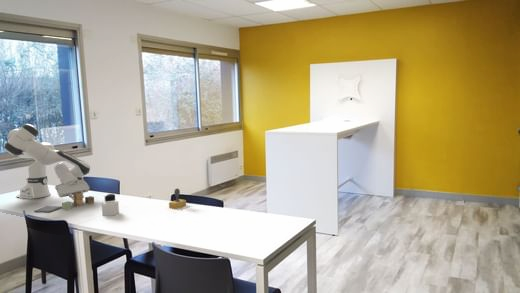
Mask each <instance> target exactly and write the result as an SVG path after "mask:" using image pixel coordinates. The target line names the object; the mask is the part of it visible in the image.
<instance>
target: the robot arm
mask: <svg viewBox="0 0 520 293" xmlns="http://www.w3.org/2000/svg"><path fill="white" fill-rule="evenodd" d="M38 135H39V130H38V129H37V127H36V126H34V125H32V124H29V123H25V124H23V125H22V126H21V127H20V128H14V129H11V130H10V131H9V132H8V135H7V138H8V140H7V141H6V142H5V144H4V146H3V148H4V149H5V151H6V153H8V154H10V155H11V156H17V157H18V158H23V159H33V160H34V162H33V163H32V164H31V163H30V165H29V166H28V168H27V169H28V170H27V171H28V178H26V183H25V184H24V185H23V186H21V188H20V189H19V190H20V191H19V194H18V195H16V198H17V197H19V198H20V199H29V200H33V199H37V198H44V197H48V196H49V197H50V196H51V192H50V189H49V183H48V175H47V166H50V165H53V164H55V163H57V164H56V165H54V171H55V172H54V173H55V174H56V176H57V178H58V179H59V181H60V184H56V185H55V186H54V189H55V190H56V193H57V195H58V197H59V198H65V197H68V198H69V199H72V201H74V200H76V198H75V197H74V196H73V194H75V193H82V196H83V199H85V197H84V196H85V195H84V193H88V192H90V191H89V190H90V185H89V184H88V183H87V182H86V180H84V178H83V177H85V176H87V175H88V174H89V173H90V171H91V166H90V164H88V163H87V162H86V161H84V160H81V159H79V158H77V157H75V156H73V155H71V154H69V153H67V152H66V151H63V150H61V149H58V150H56V149H55V148H56V147H55V146H54V144H52V143H50V142H40V141H38V140H36V139H35V138H37V137H38ZM58 162H59V163H58ZM66 162H67V163H68V164H71V165H73V166H72V167H71V168H70V167H69V166H68V165H67V163H66ZM19 198H18V199H19Z"/></svg>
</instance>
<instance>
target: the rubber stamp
mask: <svg viewBox="0 0 520 293" xmlns="http://www.w3.org/2000/svg"><path fill="white" fill-rule="evenodd" d="M180 194H181V192H180V188H175V189H174V195H175V197H176V198H175V199H176V200H173V201H169V203H168V208H169V209H171V208H172V210H178V209H181V208H183V207H186V206H187V200H185V199H182V198H181V199H180V198H179V196H180ZM177 208H178V209H177Z"/></svg>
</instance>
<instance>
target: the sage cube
mask: <svg viewBox="0 0 520 293" xmlns="http://www.w3.org/2000/svg"><path fill="white" fill-rule="evenodd" d="M61 206H62V208H61V209H62V210H69V209H72V201H63V202H61Z"/></svg>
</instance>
